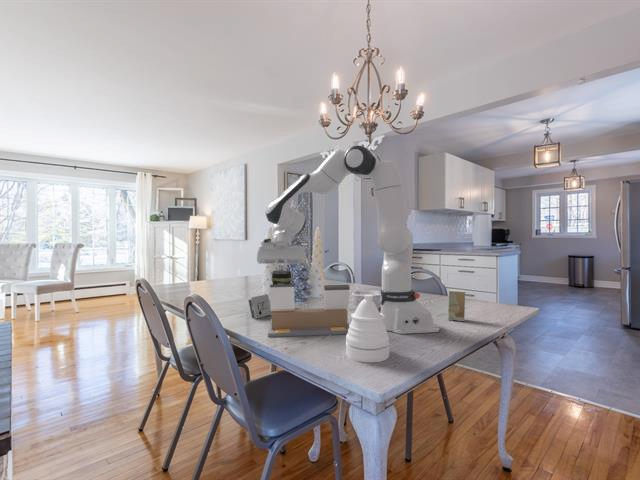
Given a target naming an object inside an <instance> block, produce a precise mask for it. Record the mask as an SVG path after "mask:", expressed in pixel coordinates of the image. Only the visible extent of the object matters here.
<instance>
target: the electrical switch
mask: <svg viewBox="0 0 640 480" xmlns="http://www.w3.org/2000/svg"><path fill="white" fill-rule="evenodd" d="M248 305H249V306H248V307H249V310H250V315H251V318H254V319H255V320H257V319H261V318H263V317H268V316H271V313H272V310H270V297H269V294H261V295H256V296H251V298H250V299H248Z"/></svg>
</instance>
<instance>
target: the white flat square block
mask: <svg viewBox="0 0 640 480" xmlns="http://www.w3.org/2000/svg"><path fill="white" fill-rule="evenodd" d="M323 288H324V289H323V290H324V291H323V308H324V310H334V309H346V310H348V309H349V296H350V288H351V287H350V284H325V285H323Z"/></svg>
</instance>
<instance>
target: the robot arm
mask: <svg viewBox="0 0 640 480" xmlns="http://www.w3.org/2000/svg"><path fill="white" fill-rule="evenodd" d="M352 174H353V175H355V176H356V177H358V178H361V179H365V180H371V182H372V188H373V194H374V201H375V206H376V217H377V219H376V222H377V223H376V225H377V227H376V229H377V240H376V241H377V245H378V248H380V250H381V251H383V260H382V265H381V289H380V292H381V293H380V302H381V305H380V311H379V312H380V313H382V314H384V315H385V319H383V323H384V325H385V326H386V328H385V329H386V331H387V332H388V331H389V332H393V333H395V334H399V335H401V334H402V335H406V334H422V333H424V334H425V333H427V334H428V333H439V331H440V327H439V325H438V323H436V322H435V321H434V320H433V316H432V313H431V311H430V310H429V309H428V308H427V307H426V306H424V304H423V303H421V302H420V301H418V299H420V297H421V295H420V293H418V292H417V291H414V290H412V264H413V250H414V249H413V247H414V235H413V232H412V231H411V230H410V229H409V228H408V220H407V204H406V198H405V190H404V185H403V184H404V183H403V179H402V176H401V172H400V169H399V166H398V165H397V162H395V161H393V160H389V159H387V160H381V158H380V157H379V156H378V155H377V154H376V153H374V152H373V151H372V150H371V149H368V148H367V147H365V146H362V145H353V146H351V147H349V148H348V149H347V150H346V151H345V150H341V149H336V150H334V151H333V152H332V153H331V154H330V155H328V156H327V158H326V159H324V160H323V162H322V163H321V164H320V165H319V167H317V169H315V170H314V171H312V172H310V173H304V174H302V175H300V176H299V178H298V179H296V180H295V181H294V182H293V183H292V184H290V186H289V187H288V188H286V189H285V190H284V191H283V193H281V194H280V195H279V196H278V197H277V198H275V199H274V200H272V201H271V202H270V203H269V204H268V206H267V207H266V209H265V217H266V218H267V220H268V222H269V223H272V225H271V226H272V228H271V235H272V236H271V237H269V238H265V239H261V241H260V246H259V247H258V249H257V253H256V261H257V263H258V264H259V265H260V264H261V265H262V264H263V265H265V264H266V265H267V264H274V266H275V267H276V268H277V269H276V270H278V271H285V270H286V267H287V266H288V264H304V263H305V262H306V254H305V253H306V247H305V245H302V244H292V237H296V236H298V235H300V234H301V233H302V232H303V231H304V230H305V228H306V225H307V218H306V215H305V214H304V213H302V212H300V211H299V210H298V209H295V208H293V207H291V206H290V205H289V204H290V203H292V201H294V199H295V198H297V197H298V196H299V195H301V194H303V193H315V194H319V195H327V194H331V193H333V192H335V190H336V189H337V188H338V186H339V185H340V184H341V183H342V182H343V180H345V178H346V177H347V176H348V175H352Z"/></svg>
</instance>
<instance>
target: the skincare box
mask: <svg viewBox="0 0 640 480" xmlns="http://www.w3.org/2000/svg"><path fill="white" fill-rule="evenodd" d="M465 298H466V290H463V289H450V288H448V309H447V319H448V321H453V320H457V321H456V322H462V321H464V322H465V312H466V311H465V308H466V307H465V306H466V305H465V304H466V299H465Z"/></svg>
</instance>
